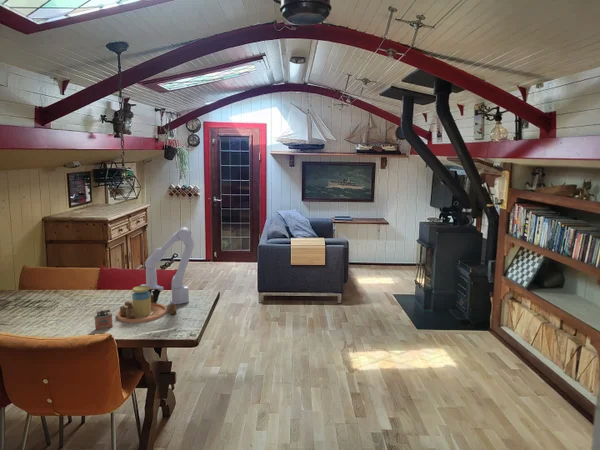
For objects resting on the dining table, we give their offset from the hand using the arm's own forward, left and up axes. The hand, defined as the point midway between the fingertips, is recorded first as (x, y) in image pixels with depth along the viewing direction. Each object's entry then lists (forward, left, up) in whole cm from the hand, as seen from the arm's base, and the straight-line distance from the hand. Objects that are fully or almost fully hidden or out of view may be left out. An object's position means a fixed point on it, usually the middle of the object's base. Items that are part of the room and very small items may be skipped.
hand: (152, 301), depth 251 cm
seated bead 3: (+13, +22, -1) cm, 26 cm away
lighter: (+26, +29, -2) cm, 39 cm away
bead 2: (-8, +21, -1) cm, 23 cm away
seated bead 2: (+13, +10, -1) cm, 17 cm away
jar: (+7, +16, -2) cm, 17 cm away
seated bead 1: (+16, +16, -1) cm, 23 cm away
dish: (+7, +16, -1) cm, 18 cm away
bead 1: (0, 0, -1) cm, 1 cm away
